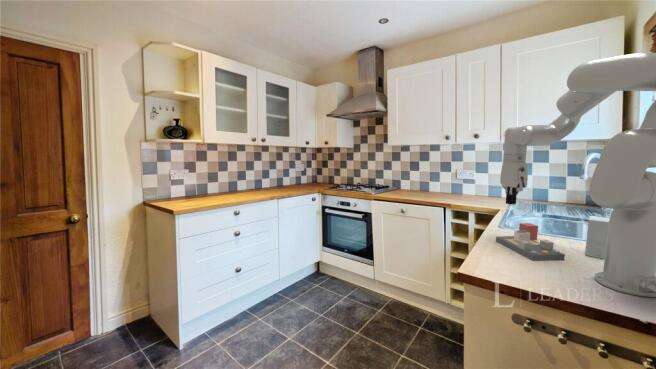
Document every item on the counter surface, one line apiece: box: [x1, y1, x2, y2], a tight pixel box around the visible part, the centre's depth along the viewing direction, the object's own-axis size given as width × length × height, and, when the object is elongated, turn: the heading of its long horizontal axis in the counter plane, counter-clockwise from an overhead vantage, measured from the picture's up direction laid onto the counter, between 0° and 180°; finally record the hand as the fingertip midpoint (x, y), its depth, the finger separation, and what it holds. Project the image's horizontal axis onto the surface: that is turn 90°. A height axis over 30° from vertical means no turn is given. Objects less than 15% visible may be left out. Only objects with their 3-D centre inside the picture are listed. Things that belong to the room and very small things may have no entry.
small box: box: [584, 215, 610, 260], centre depth 97 cm, size 8×6×13 cm
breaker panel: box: [495, 235, 566, 262], centre depth 103 cm, size 20×11×4 cm, turn 1°
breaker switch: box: [513, 229, 530, 242], centre depth 105 cm, size 3×4×4 cm
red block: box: [518, 222, 539, 241], centre depth 116 cm, size 4×4×6 cm
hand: (510, 203), depth 111 cm, fingers closed
